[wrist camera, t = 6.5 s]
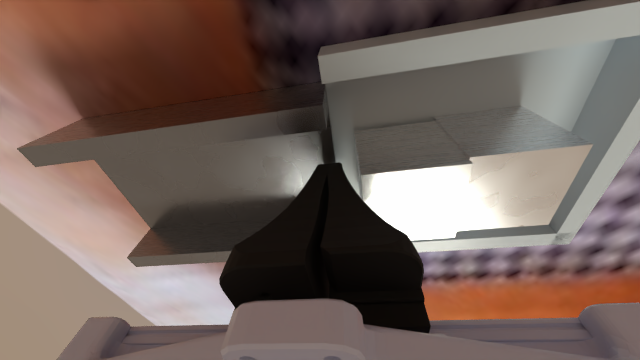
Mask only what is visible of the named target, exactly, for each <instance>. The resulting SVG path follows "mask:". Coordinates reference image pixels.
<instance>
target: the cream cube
mask: <svg viewBox="0 0 640 360" xmlns="http://www.w3.org/2000/svg"><path fill="white" fill-rule="evenodd" d="M354 136H355V148H356V159H357V171H358V183H359V193H360V197H361V199H362V200H363V201H364V202H365V203H366V204H367V205H368V206H369V207H370V208H371V209H372V210H373V211H374V212H375V213H377V214H378V215H379V216H380V217H381V218H382V219H384V220H385V221H386V222H388V223H389V224H390V225H392V226H393V227H395V228H397V229H398V230H400V231H402V232H403V233H405V234H407V235H408V237H409V238H410V240H423V239H439V238H454V237H455V235H456V231H457V227H458V223H459V219H460V215H461V211H462V207H463V203H464V199H465V195H466V191H467V187H468V183H469V179H470V174H471V170H472V166H473V163H472V162H471V161H470V159H469V158H468V157H467V156H466V155H465V154H464V153H463V151H462V150H461V149H460V148H459V147H458V146H457V145H456V144H455V142H454V141H453V140H452V139H451V138H450V137H449V136H448V134H447V133H446V132H445V131H444V130H443V129H442V128H441V126H440V125H439V124H438V123H437V122H436V121H427V122H420V123H412V124H404V125H396V126H388V127H380V128H373V129H365V130H357V131H354Z"/></svg>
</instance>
